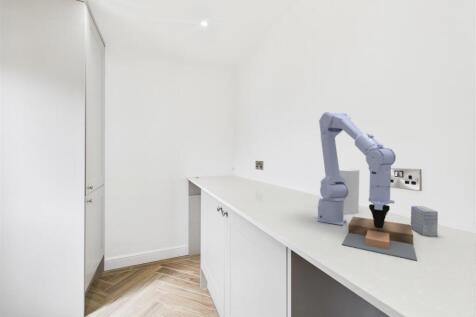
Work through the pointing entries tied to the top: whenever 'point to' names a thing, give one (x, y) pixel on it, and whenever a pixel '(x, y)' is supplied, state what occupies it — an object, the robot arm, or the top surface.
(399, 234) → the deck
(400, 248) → the mat
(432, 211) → the medicine box
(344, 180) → the robot arm
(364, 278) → the top surface
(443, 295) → the top surface
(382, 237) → the tan rectangular slab
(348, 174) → the canister
